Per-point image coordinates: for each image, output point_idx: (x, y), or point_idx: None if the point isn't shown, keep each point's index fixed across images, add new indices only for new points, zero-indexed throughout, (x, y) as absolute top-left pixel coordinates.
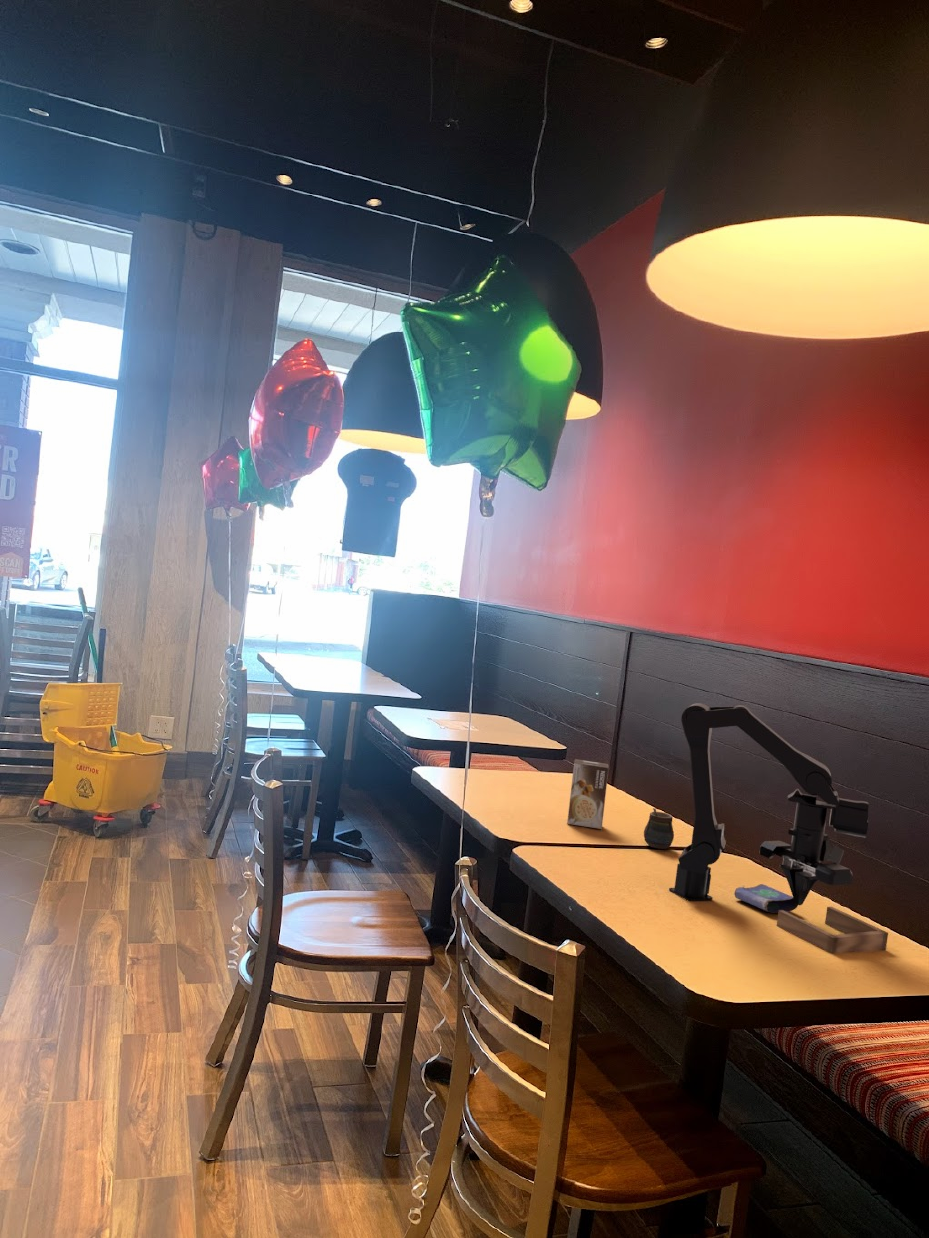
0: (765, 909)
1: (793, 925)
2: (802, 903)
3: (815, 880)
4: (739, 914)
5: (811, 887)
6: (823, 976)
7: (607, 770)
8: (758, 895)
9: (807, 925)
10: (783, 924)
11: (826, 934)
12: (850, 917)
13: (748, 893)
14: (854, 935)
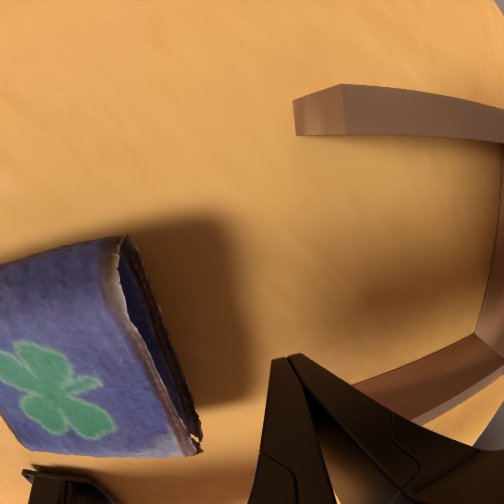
0: (193, 429)
1: None
2: (306, 359)
3: (486, 466)
4: (179, 458)
5: (420, 431)
6: (488, 390)
7: None
8: (114, 453)
9: (448, 409)
10: None
11: (496, 378)
12: (487, 137)
13: (81, 455)
14: None
